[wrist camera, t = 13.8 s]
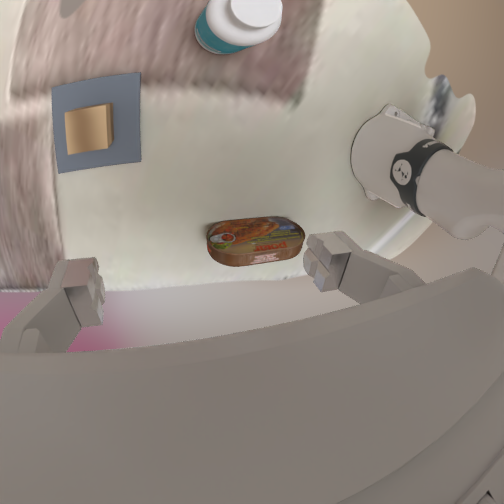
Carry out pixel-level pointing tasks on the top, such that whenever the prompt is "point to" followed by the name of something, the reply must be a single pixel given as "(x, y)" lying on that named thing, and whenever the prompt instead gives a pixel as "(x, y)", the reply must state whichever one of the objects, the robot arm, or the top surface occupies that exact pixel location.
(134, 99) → the mat
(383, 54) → the top surface
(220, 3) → the pill bottle
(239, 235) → the tin
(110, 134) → the cube
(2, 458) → the robot arm
